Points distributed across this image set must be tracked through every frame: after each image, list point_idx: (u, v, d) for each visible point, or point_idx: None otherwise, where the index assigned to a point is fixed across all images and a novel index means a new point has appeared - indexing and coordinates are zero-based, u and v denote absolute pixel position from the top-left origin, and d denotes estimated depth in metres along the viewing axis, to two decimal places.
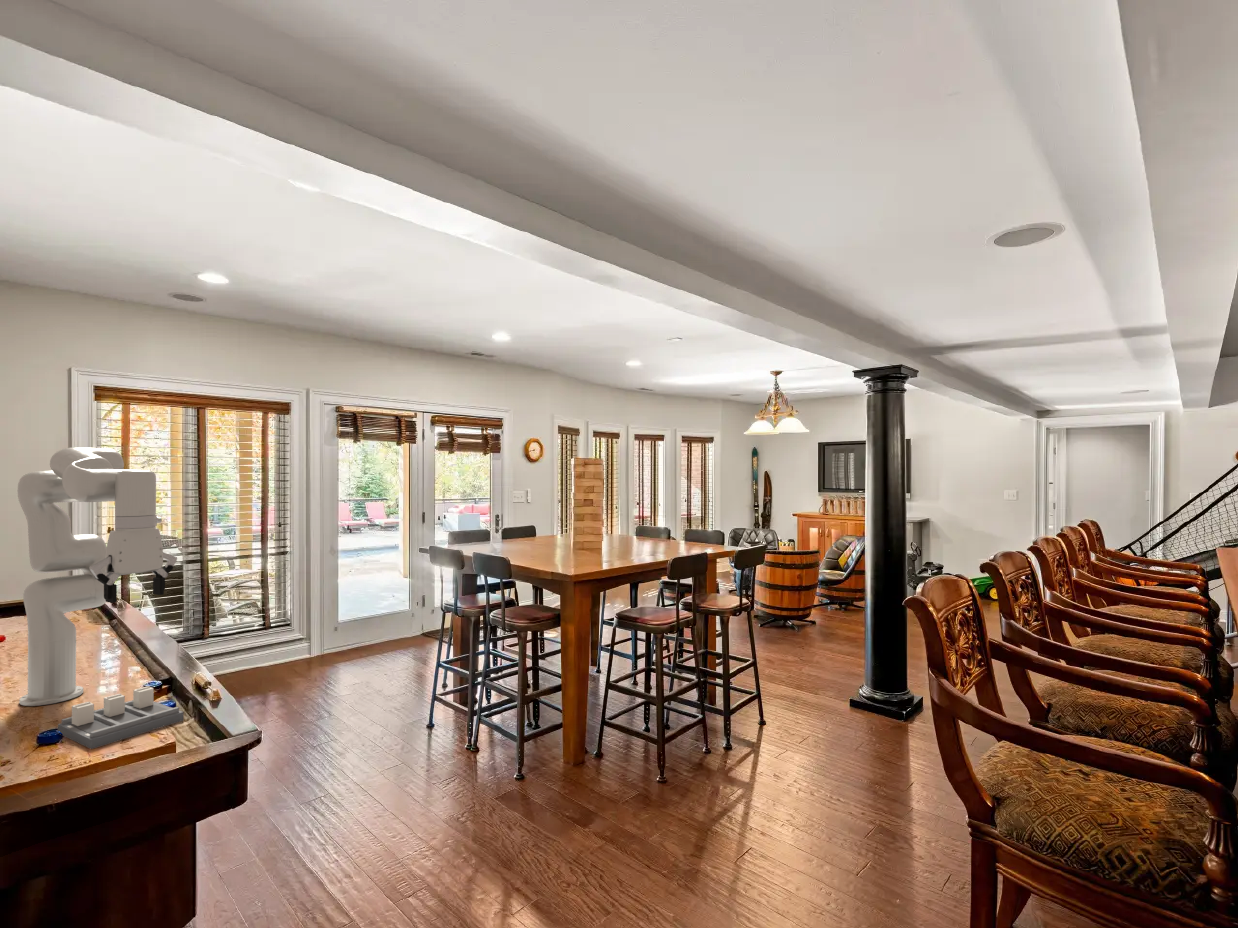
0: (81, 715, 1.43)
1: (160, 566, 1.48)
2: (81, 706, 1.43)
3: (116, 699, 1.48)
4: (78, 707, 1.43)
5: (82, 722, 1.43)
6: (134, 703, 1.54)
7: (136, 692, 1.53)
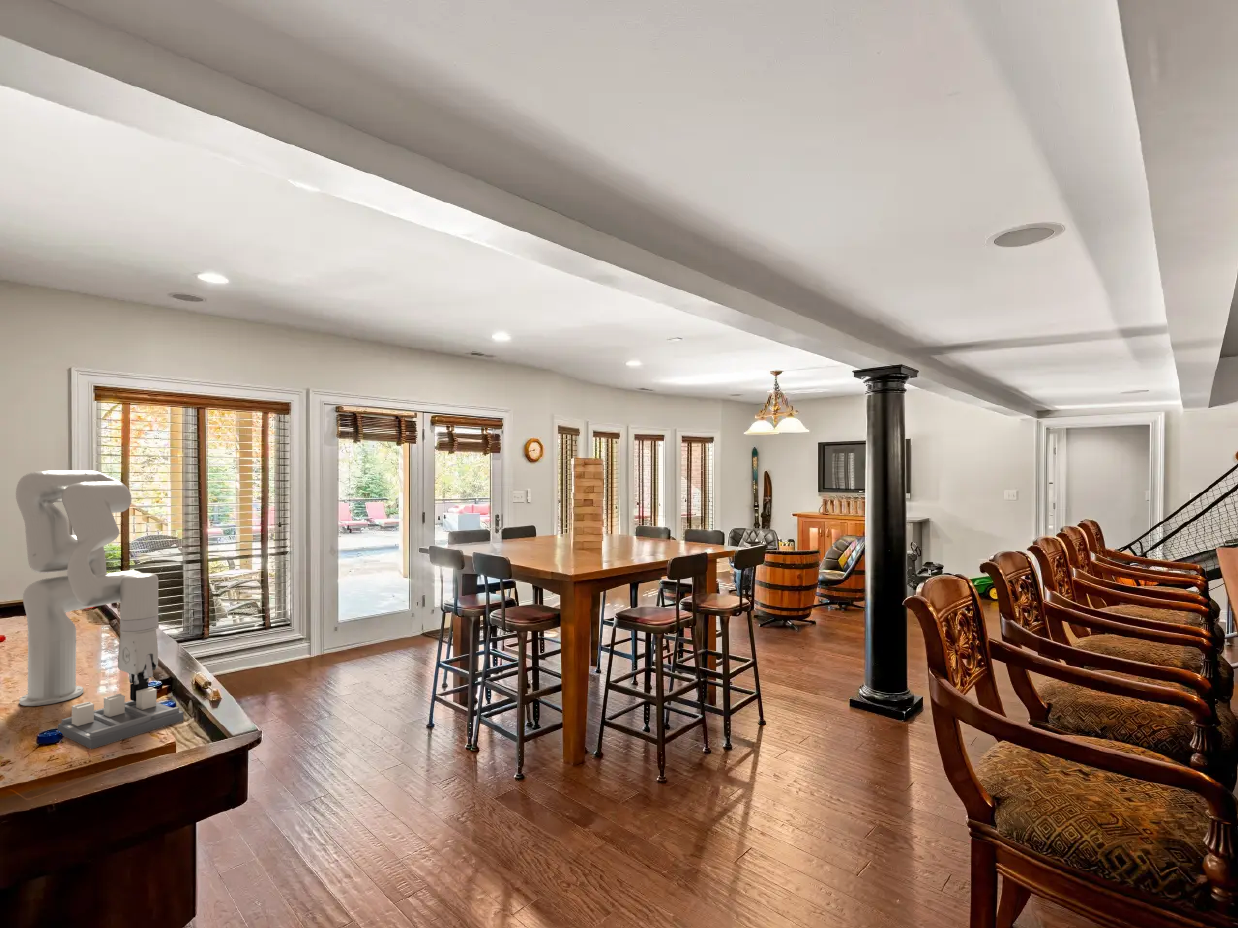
0: (81, 715, 1.43)
1: None
2: (81, 706, 1.43)
3: (116, 699, 1.48)
4: (78, 707, 1.43)
5: (82, 722, 1.43)
6: (137, 704, 1.53)
7: (139, 693, 1.52)
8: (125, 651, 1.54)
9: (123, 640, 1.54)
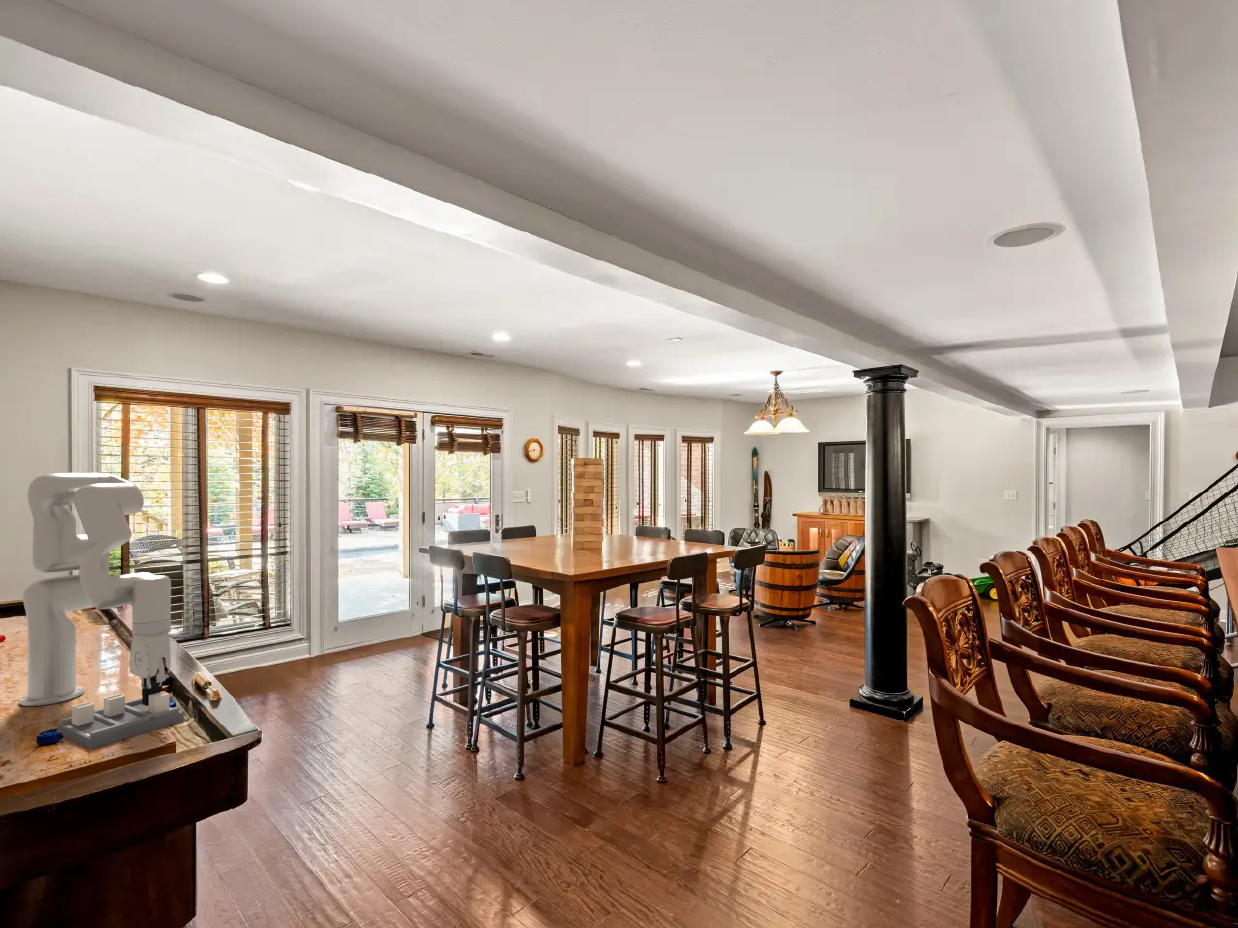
0: (81, 715, 1.43)
1: None
2: (81, 706, 1.43)
3: (116, 699, 1.48)
4: (78, 707, 1.43)
5: (82, 722, 1.43)
6: (149, 709, 1.50)
7: (152, 697, 1.49)
8: (137, 654, 1.51)
9: (135, 643, 1.51)
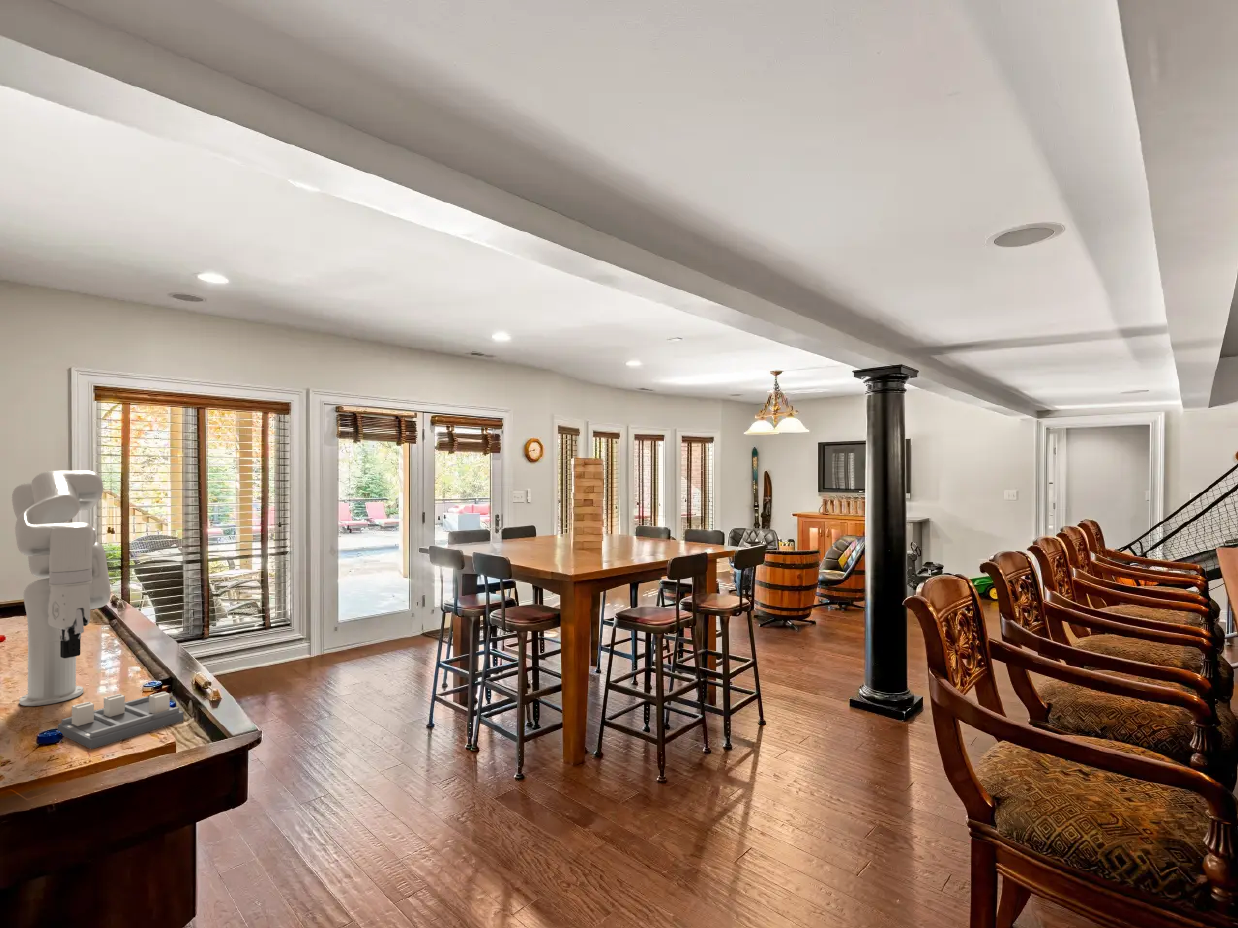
0: (81, 715, 1.43)
1: None
2: (81, 706, 1.43)
3: (116, 699, 1.48)
4: (78, 707, 1.43)
5: (82, 722, 1.43)
6: (150, 709, 1.50)
7: (152, 697, 1.49)
8: (54, 605, 1.46)
9: (52, 594, 1.46)
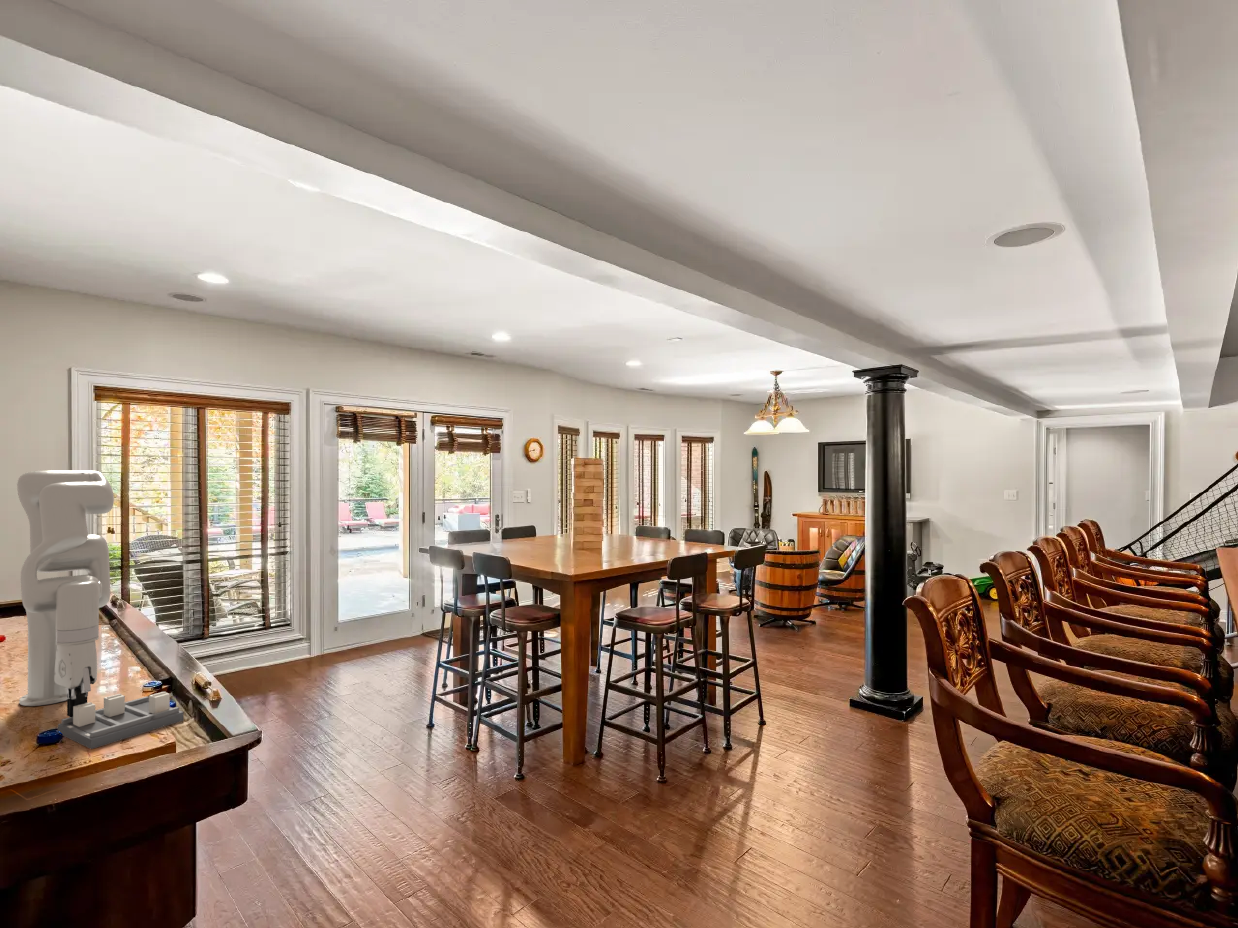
0: (83, 716, 1.42)
1: None
2: (83, 707, 1.43)
3: (116, 699, 1.48)
4: (80, 708, 1.42)
5: (84, 723, 1.42)
6: (150, 709, 1.50)
7: (152, 697, 1.49)
8: (61, 663, 1.43)
9: (59, 652, 1.44)
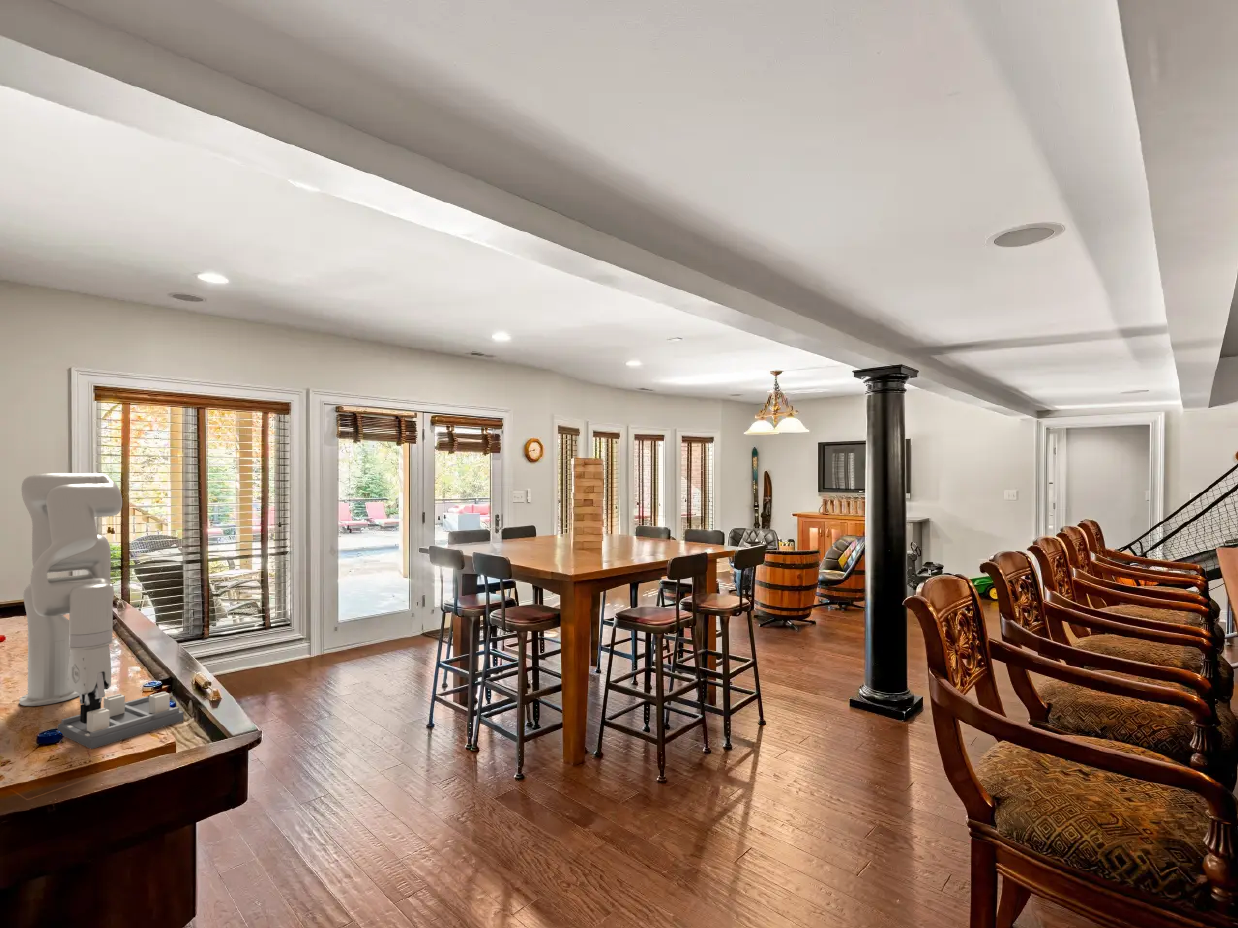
0: (97, 722, 1.39)
1: None
2: (96, 712, 1.39)
3: (116, 699, 1.48)
4: (93, 713, 1.39)
5: (98, 729, 1.39)
6: (150, 709, 1.50)
7: (152, 697, 1.49)
8: (74, 668, 1.40)
9: (72, 656, 1.41)
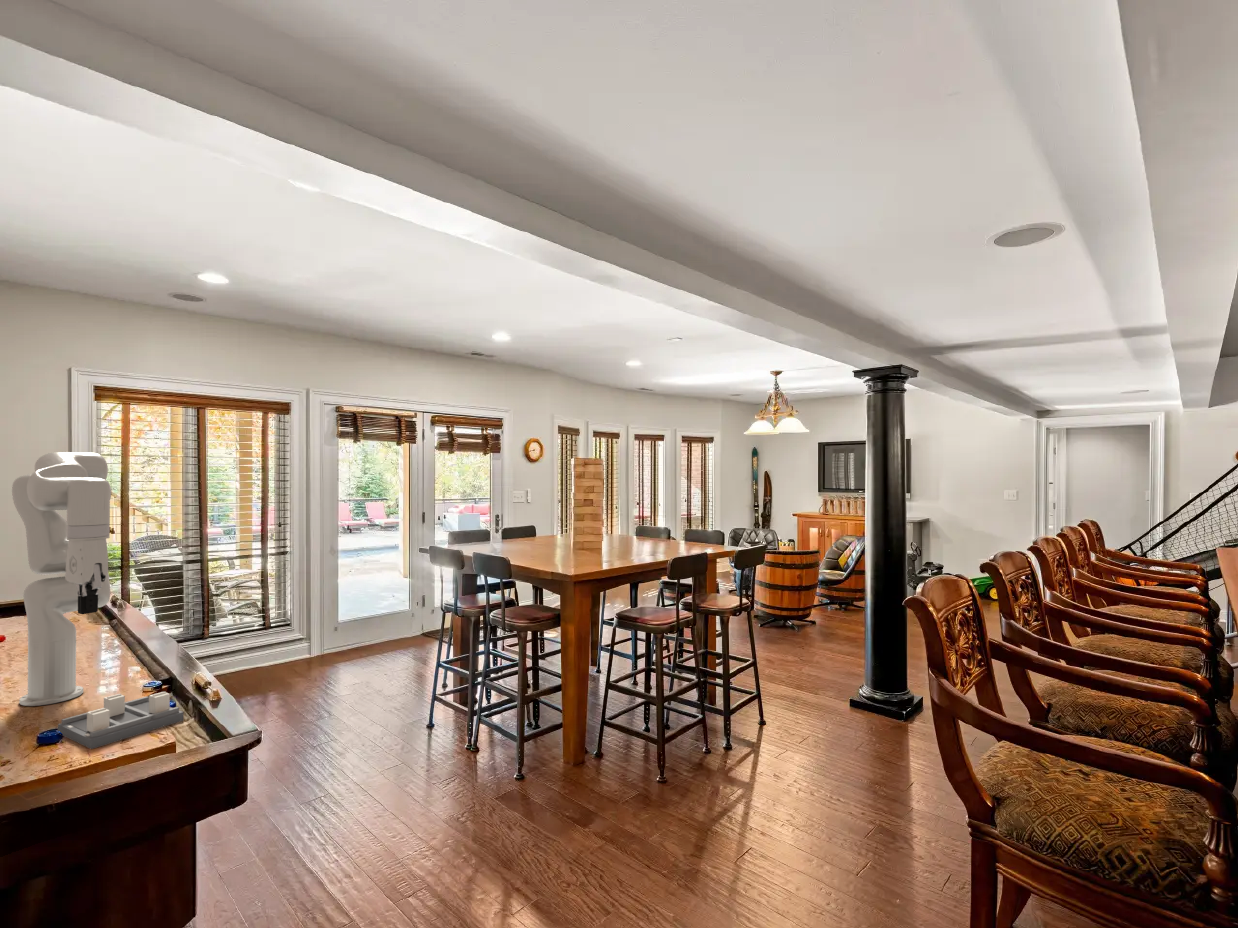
0: (97, 722, 1.39)
1: None
2: (96, 712, 1.39)
3: (116, 699, 1.48)
4: (93, 713, 1.39)
5: (98, 729, 1.39)
6: (150, 709, 1.50)
7: (152, 697, 1.49)
8: (72, 560, 1.43)
9: (70, 548, 1.43)
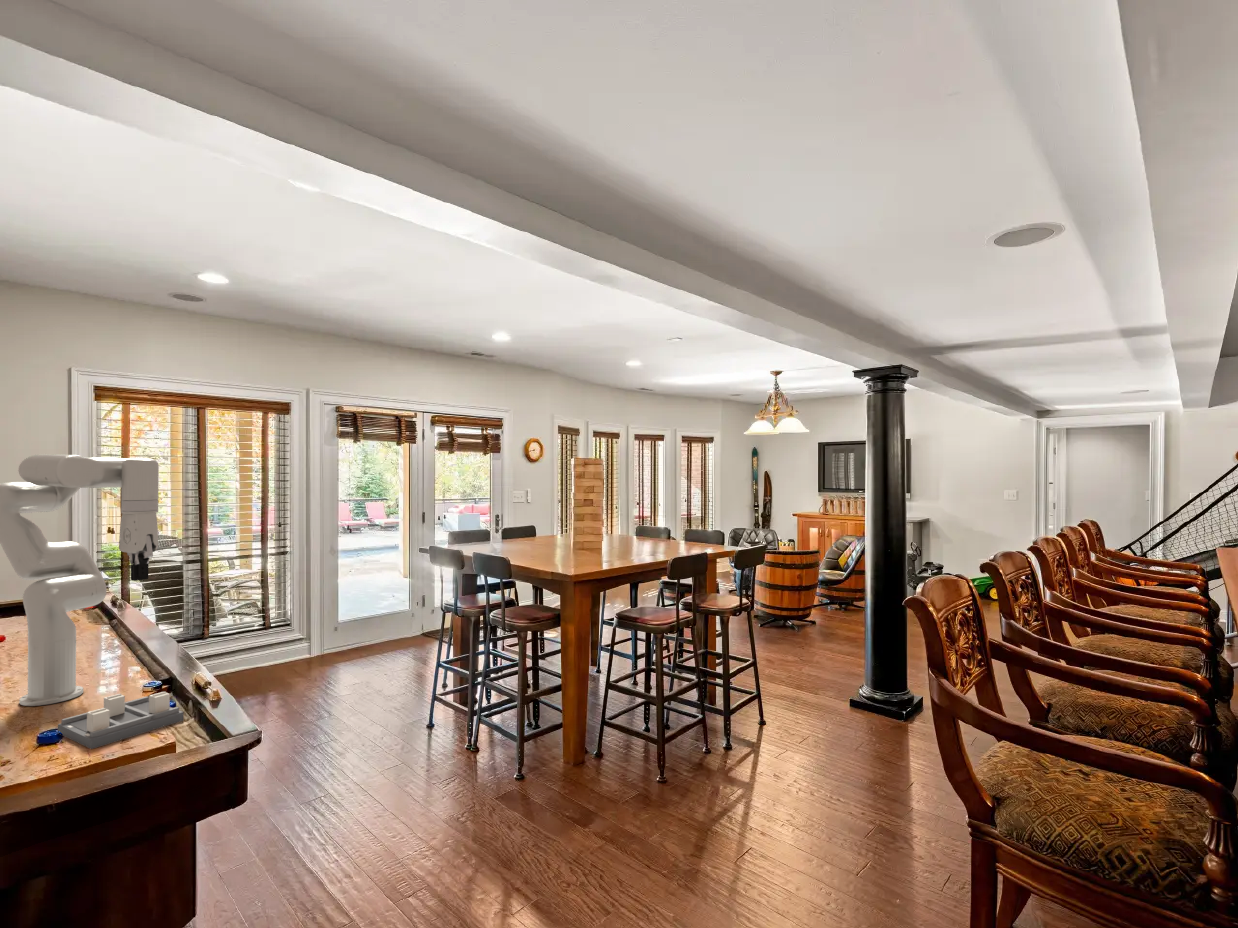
0: (97, 722, 1.39)
1: None
2: (96, 712, 1.39)
3: (116, 699, 1.48)
4: (93, 713, 1.39)
5: (98, 729, 1.39)
6: (150, 709, 1.50)
7: (152, 697, 1.49)
8: (126, 531, 1.58)
9: (124, 521, 1.59)
